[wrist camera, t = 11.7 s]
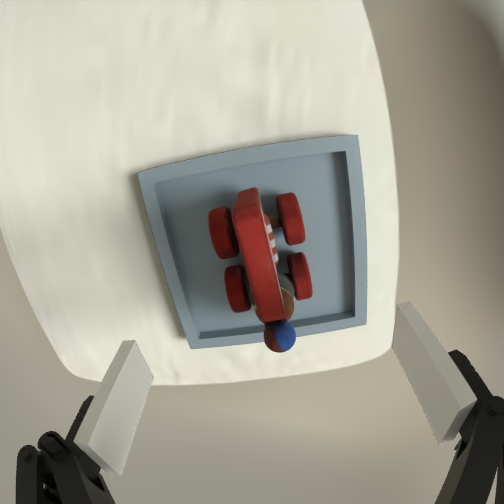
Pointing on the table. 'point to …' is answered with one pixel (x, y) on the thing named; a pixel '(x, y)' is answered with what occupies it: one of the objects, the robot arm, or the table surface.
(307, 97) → the table surface
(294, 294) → the toy fire truck
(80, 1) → the table surface
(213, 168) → the tray
